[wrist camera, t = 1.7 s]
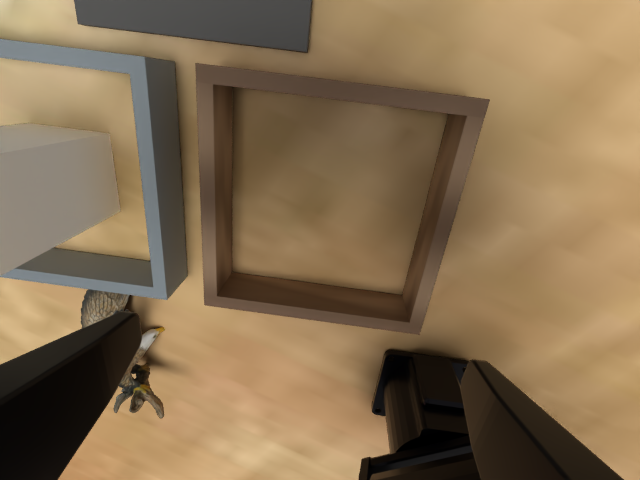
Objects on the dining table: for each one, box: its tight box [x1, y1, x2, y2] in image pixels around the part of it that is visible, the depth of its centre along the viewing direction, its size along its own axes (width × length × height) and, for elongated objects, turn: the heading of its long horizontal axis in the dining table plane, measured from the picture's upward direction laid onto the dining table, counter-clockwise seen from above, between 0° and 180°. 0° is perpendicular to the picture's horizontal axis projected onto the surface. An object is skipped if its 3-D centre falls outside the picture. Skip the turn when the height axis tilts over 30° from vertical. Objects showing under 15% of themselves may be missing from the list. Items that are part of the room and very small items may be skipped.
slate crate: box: [0, 39, 188, 300], centre depth 20 cm, size 14×14×3 cm
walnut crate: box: [196, 63, 490, 335], centre depth 20 cm, size 14×14×3 cm
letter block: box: [0, 123, 121, 276], centre depth 17 cm, size 5×5×10 cm
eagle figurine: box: [81, 289, 165, 418], centre depth 24 cm, size 8×7×9 cm
